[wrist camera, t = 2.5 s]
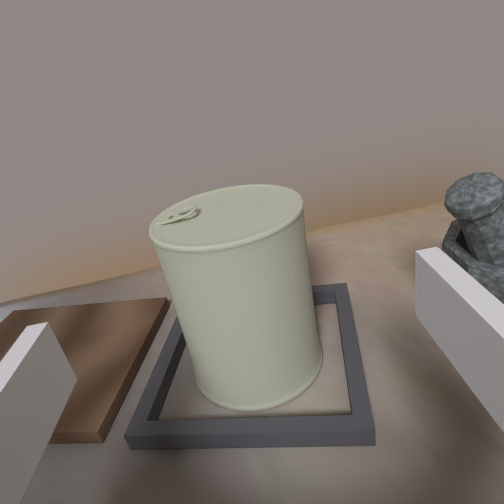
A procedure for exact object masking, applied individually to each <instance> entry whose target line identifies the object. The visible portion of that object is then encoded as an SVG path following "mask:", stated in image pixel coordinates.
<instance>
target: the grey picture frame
mask: <svg viewBox="0 0 504 504" xmlns="http://www.w3.org/2000/svg"><path fill="white" fill-rule="evenodd" d="M312 294H313V302H314V305H315V304H328V303H336V306H337V313H338V320H339V327H340V334H341V342H342V349H343V356H344V363H345V370H346V377H347V385H348V392H349V399H350V406H351V413H352V415H327V416H293V417H259V418H225V419H191V420H157V419H158V417H159V414H160V411H161V408H162V406H163V403H164V400H165V398H166V395H167V392H168V390H169V387H170V384H171V382H172V379H173V376H174V374H175V371H176V368H177V366H178V363H179V360H180V358H181V355H182V352H183V350H184V347H185V344H186V341H185V338H184V335H183V332H182V328H181V325H180V322H179V319H178V316H177V317H176V320H175V322H174V324H173V326H172V329H171V331H170V333H169V336H168V338H167V340H166V342H165V345H164V347H163V349H162V351H161V354H160V356H159V358H158V360H157V363H156V365H155V367H154V369H153V372H152V374H151V376H150V378H149V381H148V383H147V385H146V387H145V390H144V392H143V394H142V396H141V399H140V401H139V403H138V406H137V408H136V410H135V412H134V415H133V417H132V419H131V421H130V424H129V426H128V428H127V430H126V433H125V435H124V437H125V439H126V441H127V443H128V445H129V447H130V449H191V448H254V447H316V446H375V429H374V424H373V419H372V413H371V408H370V403H369V398H368V393H367V388H366V382H365V377H364V372H363V367H362V362H361V357H360V351H359V346H358V341H357V336H356V331H355V325H354V320H353V315H352V310H351V305H350V300H349V294H348V289H347V284H346V283H340V284H329V285H317V286H312Z"/></svg>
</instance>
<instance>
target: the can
mask: <svg viewBox="0 0 504 504" xmlns="http://www.w3.org/2000/svg"><path fill="white" fill-rule="evenodd" d="M303 208H304V202H303V199H302V197H301V196H300V195H299V194H298V193H297V192H296V191H294V190H292V189H289V188H286V187H283V186H278V185H268V184H267V185H266V184H254V185H240V186H233V187H227V188H221V189H218V190H213V191H209V192H205V193H202V194H199V195H197V196H193V197H190V198H188V199H185V200H183V201H181V202H179V203H176V204H175V205H173V206H171V207H169V208H168V209H166V210H164V211H163V212H162V213H160V214H159V215H158V216H157V217H156V218H155V219H154V220H153V221H152V223H151V224H150V227H149V237H150V239H151V241H152V242H153V245H154V248H155V250H156V253H157V256H158V259H159V262H160V265H161V268H162V271H163V274H164V277H165V280H166V283H167V286H168V289H169V291H170V294H171V298H172V301H173V304H174V307H175V310H176V313H177V316H178V319H179V322H180V325H181V328H182V332H183V335H184V338H185V341H186V344H187V347H188V351H189V354H190V357H191V361H192V364H193V368H194V377H195V381H196V384H197V386H198V388H199V389H200V391H201V392H202V393H203V395H204V396H205V397H206V398H208V399H209V400H210V401H212V402H213V403H215V404H217V405H219V406H221V407H224V408H228V409H231V410H237V411H260V410H266V409H270V408H274V407H277V406H280V405H282V404H285V403H287V402H289V401H291V400H292V399H294V398H296V397H297V396H299V395H300V394H302V393H303V392H304V391H305V390H306V389H307V388H308V387H309V386H310V385H311V384H312V383H313V381H314V380H315V378H316V377H317V375H318V373H319V371H320V368H321V365H322V360H323V352H322V347H321V344H320V341H319V337H318V331H317V324H316V317H315V309H314V302H313V294H312V286H311V277H310V268H309V260H308V251H307V243H306V233H305V222H304V211H303Z"/></svg>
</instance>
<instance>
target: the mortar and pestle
mask: <svg viewBox="0 0 504 504" xmlns="http://www.w3.org/2000/svg"><path fill="white" fill-rule="evenodd" d="M444 205H445V207H446V209H447V210H448V211H449V212H450V213H451V214H452V215H453V216H454V217H455V218H457V220H455V221H452V222H451V224H450V227H449V229H448V231H447V233H446V235H445V238H444V240H443V244H442V251H443V252H444V253H445V254H446V255H448V256H449V257H450V258H451V259H452V260H453V261H454V262H456V263H457V264H458V265H459V266H460V267H461V268H462V269H464V270H465V271H466V272H467V273H468V274H469V275H471V276H472V277H473V278H474V279H475V280H476V281H477V282H479V283H480V284H481V285H482V286H483V287H484V288H485V289H487V290H488V291H489V292H490V293H491V294H492V295H493V296H495V297H496V298H497V299H498V300H499V301H500V302H502V303H503V304H504V181H503V180H501V179H500V178H498V177H497V176H496V175H494V174H493V173H473V174H470V175H468V176H466V177H463V178H461V179H458V180H457V181H456V182H455V183H454V184H453V185H452V186H451V187H450V188H449V189H448V190H447V192H446V197H445V202H444Z"/></svg>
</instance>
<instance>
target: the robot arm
mask: <svg viewBox="0 0 504 504" xmlns="http://www.w3.org/2000/svg"><path fill="white" fill-rule="evenodd" d="M415 315H416V317H417V318H418V319H419V321H420V322H421V323H422V325H423V326H424V327H425V329H426V330H427V331H428V333H429V334H430V335H431V337H432V338H433V339H434V341H435V342H436V343H437V345H438V346H439V347H440V349H441V350H442V351H443V353H444V354H445V355H446V357H447V358H448V359H449V361H450V362H451V363H452V365H453V366H454V367H455V369H456V370H457V371H458V373H459V374H460V375H461V377H462V378H463V379H464V381H465V382H466V383H467V385H468V386H469V387H470V389H471V390H472V391H473V393H474V394H475V395H476V397H477V398H478V399H479V401H480V402H481V403H482V405H483V406H484V407H485V409H486V410H487V411H488V413H489V414H490V415H491V417H492V418H493V419H494V421H495V422H496V423H497V425H498V426H499V427H500V429H501V430H502V431H503V433H504V304H503V303H502V302H500V301H499V300H498V299H497V298H496V297H495V296H493V295H492V294H491V293H490V292H489V291H488V290H487V289H485V288H484V287H483V286H482V285H481V284H480V283H479V282H477V281H476V280H475V279H474V278H473V277H472V276H471V275H469V274H468V273H467V272H466V271H465V270H464V269H462V268H461V267H460V266H459V265H458V264H457V263H456V262H454V261H453V260H452V259H451V258H450V257H449V256H448V255H446V254H445V253H444V252H443V251H442V250H441V249H440V248H438V247H433V248H428V249H423V250H417V251H415ZM76 381H77V377H76V375H75V373H74V372H73V370H72V368H71V366H70V364H69V362H68V360H67V358H66V356H65V354H64V352H63V350H62V348H61V346H60V344H59V342H58V340H57V339H56V337H55V335H54V333H53V331H52V329H51V327H50V325H49V323H48V322H45V323H40V324H35V325H30V326H27V327H26V328H25V329H24V331H23V332H22V333H21V335H20V336H19V338H18V339H17V340H16V342H15V343H14V344H13V346H12V347H11V348H10V350H9V351H8V352H7V354H6V355H5V356H4V358H3V359H2V360H1V362H0V504H20V503H21V501H22V499H23V496H24V494H25V492H26V490H27V488H28V486H29V483H30V481H31V479H32V477H33V475H34V473H35V470H36V468H37V466H38V464H39V462H40V460H41V457H42V455H43V453H44V451H45V449H46V446H47V444H48V442H49V440H50V438H51V436H52V433H53V431H54V429H55V427H56V425H57V423H58V420H59V418H60V416H61V414H62V412H63V410H64V407H65V405H66V403H67V401H68V399H69V397H70V394H71V392H72V390H73V388H74V386H75V384H76Z"/></svg>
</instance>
